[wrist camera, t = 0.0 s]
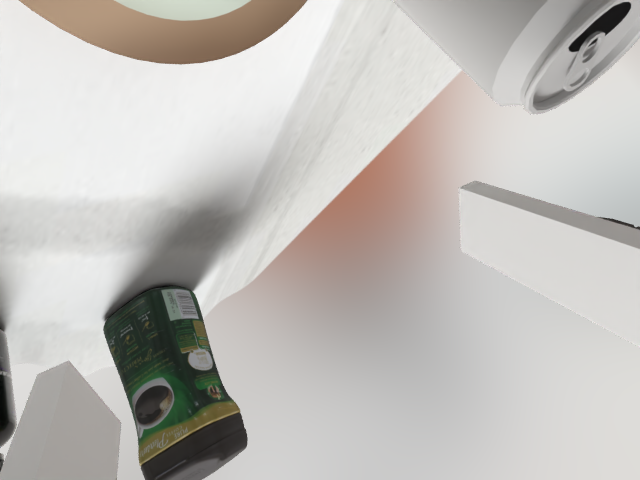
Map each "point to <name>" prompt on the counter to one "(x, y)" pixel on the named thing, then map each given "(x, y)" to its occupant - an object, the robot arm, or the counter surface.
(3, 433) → the supplement bottle
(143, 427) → the coffee jar
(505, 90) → the can
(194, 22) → the pedestal
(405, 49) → the counter surface
